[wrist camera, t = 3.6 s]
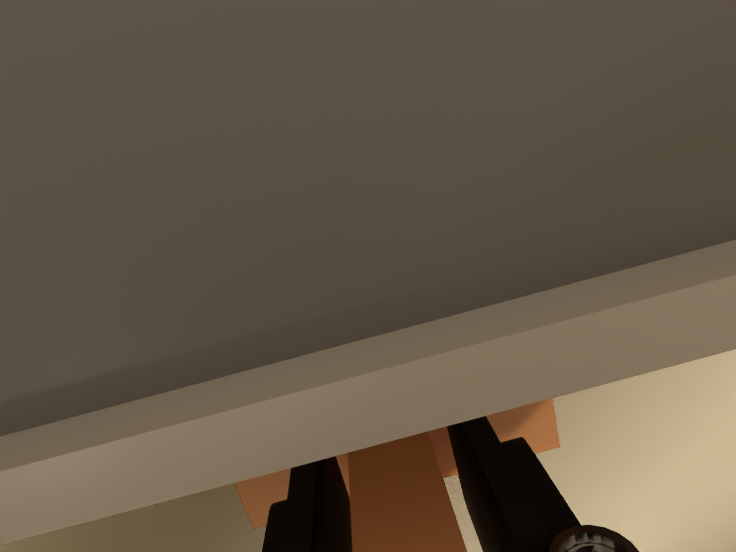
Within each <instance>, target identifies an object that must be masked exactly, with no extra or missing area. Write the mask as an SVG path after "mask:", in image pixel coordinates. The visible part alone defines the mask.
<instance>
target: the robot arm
mask: <svg viewBox="0 0 736 552" xmlns="http://www.w3.org/2000/svg"><path fill="white" fill-rule="evenodd" d="M447 429H448V433H449V438H450V442H451V446H452V450H453V454H454V458H455V463H456V467H457V471H458V475H459V479H460V483H461V488H462V492H463V496H464V499H465V503H466V506H467V509H468V512H469V514H470V517H471V520H472V522H473V525H474V528H475V531H476V533H477V536H478V539H479V541H480V544H481V547H482V550H483V552H639V551H638V550H637V548H636V547H635V546H634V545H633V544H632V543H631V542H630V541H629V540H627V539H626V538H625V537H623V536H622V535H620V534H619V533H617V532H614V531H612V530H609V529H607V528H605V527H599V526H593V525H582V526H581V524H580V523H579V521H578V520H577V518H576V517H575V515H574V514H573V512H572V510H571V509H570V507H569V506H568V504H567V503H566V501H565V500H564V498H563V497H562V495H561V494H560V492H559V490H558V489H557V487H556V486H555V484H554V483H553V481H552V480H551V478H550V477H549V475H548V474H547V472H546V470H545V469H544V467H543V466H542V464H541V463H540V461H539V460H538V458H537V457H536V455H535V454H534V452H533V450H532V449H531V447H530V446H529V444H528V443H527V441H526V440H525V439H524V438H523V437H519V438H515V439H511V440H508V441H504V442H500V440H499V438H498V437H497V435H496V433H495V431H494V430H493V428H492V426H491V424H490V422H489V421H488V419H487V417H486V416H483V417H479V418H476V419H472V420H468V421H464V422H461V423H457V424H453V425H449V426H447ZM262 552H353V551H352V531H351V510H350V498H349V495H348V492H347V489H346V486H345V483H344V480H343V477H342V474H341V471H340V467H339V464H338V461H337V458H336V456H334V457H330V458H326V459H322V460H319V461H315V462H311V463H307V464H304V465H300V466H296V467H292V468H291V471H290V479H289V487H288V495H287V500H283V501H279V502H276V503H273V504H272V505H271V506H270V510H269V514H268V520H267V526H266V532H265V537H264V543H263V549H262Z"/></svg>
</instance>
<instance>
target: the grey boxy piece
mask: <svg viewBox="0 0 736 552" xmlns="http://www.w3.org/2000/svg"><path fill="white" fill-rule="evenodd" d="M734 349H736V0H0V546H1V545H5V544H8V543H12V542H16V541H20V540H23V539H27V538H31V537H35V536H38V535H42V534H46V533H50V532H53V531H57V530H61V529H64V528H68V527H72V526H76V525H79V524H83V523H87V522H91V521H94V520H98V519H102V518H106V517H109V516H113V515H117V514H121V513H124V512H128V511H132V510H135V509H139V508H143V507H147V506H150V505H154V504H158V503H162V502H165V501H169V500H173V499H177V498H180V497H184V496H188V495H192V494H195V493H199V492H203V491H207V490H210V489H214V488H218V487H221V486H225V485H229V484H233V483H236V482H240V481H244V480H248V479H251V478H255V477H259V476H263V475H266V474H270V473H274V472H278V471H281V470H285V469H289V468H292V467H296V466H300V465H304V464H307V463H311V462H315V461H319V460H322V459H326V458H330V457H334V456H337V455H341V454H345V453H349V452H352V451H356V450H360V449H364V448H367V447H371V446H375V445H378V444H382V443H386V442H390V441H393V440H397V439H401V438H405V437H408V436H412V435H416V434H420V433H423V432H427V431H431V430H435V429H438V428H442V427H446V426H449V425H453V424H457V423H461V422H464V421H468V420H472V419H476V418H479V417H483V416H487V415H491V414H494V413H498V412H502V411H506V410H509V409H513V408H517V407H521V406H524V405H528V404H532V403H535V402H539V401H543V400H547V399H550V398H554V397H558V396H562V395H565V394H569V393H573V392H577V391H580V390H584V389H588V388H592V387H595V386H599V385H603V384H607V383H610V382H614V381H618V380H621V379H625V378H629V377H633V376H636V375H640V374H644V373H648V372H651V371H655V370H659V369H663V368H666V367H670V366H674V365H678V364H681V363H685V362H689V361H692V360H696V359H700V358H704V357H707V356H711V355H715V354H719V353H722V352H726V351H730V350H734Z"/></svg>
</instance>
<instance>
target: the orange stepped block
mask: <svg viewBox="0 0 736 552" xmlns="http://www.w3.org/2000/svg"><path fill="white" fill-rule="evenodd" d="M486 417H487V419H488V421H489V422H490V424H491V426H492V428H493V430H494V431H495V433H496V435H497V437H498V438H499V440H500V442H504V441H508V440H511V439H515V438H519V437H523V438H524V439H525V440H526V441H527V443H528V444H529V446H530V447H531V449H532V450H533V452H534V454H535V453H539V452H543V451H547V450H550V449H554V448H558V447H560V444H559V438H558V432H557V425H556V419H555V413H554V407H553V400H552V398H550V399H547V400H543V401H539V402H535V403H532V404H528V405H524V406H521V407H517V408H513V409H509V410H506V411H502V412H498V413H494V414H491V415H487V416H486ZM336 458H337V461H338V464H339V467H340V471H341V474H342V477H343V480H344V483H345V486H346V489H347V492H348V495H349V498H350V510H351V531H352V551H353V552H467V550H466V547H465V544H464V541H463V538H462V535H461V532H460V529H459V526H458V523H457V520H456V517H455V514H454V511H453V508H452V505H451V502H450V499H449V495H448V492H447V489H446V486H445V483H444V480H443V478H446V477H449V476H453V475H457V474H458V471H457V467H456V463H455V458H454V454H453V450H452V446H451V442H450V438H449V433H448V429H447V426H446V427H442V428H438V429H435V430H431V431H427V432H423V433H420V434H416V435H412V436H408V437H405V438H401V439H397V440H393V441H390V442H386V443H382V444H378V445H375V446H371V447H367V448H364V449H360V450H356V451H352V452H349V453H345V454H341V455H337V456H336ZM290 471H291V468H289V469H285V470H281V471H278V472H274V473H270V474H266V475H263V476H259V477H255V478H251V479H248V480H244V481H240V482H236V483H234V484H235V486H236V488H237V491H238V493H239V496H240V498H241V501H242V503H243V505H244V508H245V510H246V513H247V515H248V518H249V520H250V522H251V525H252V527H253V529H255V528H259V527H262V526H266V525H267V520H268V514H269V510H270V506H271V505H272V504H273V503H276V502H279V501H283V500H287V495H288V487H289V479H290Z"/></svg>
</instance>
